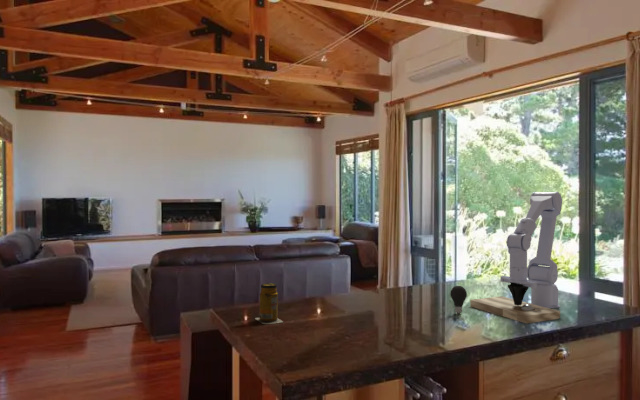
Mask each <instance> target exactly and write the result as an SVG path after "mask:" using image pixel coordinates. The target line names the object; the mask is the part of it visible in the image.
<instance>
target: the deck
mask: <svg viewBox="0 0 640 400" xmlns="http://www.w3.org/2000/svg"><path fill="white" fill-rule="evenodd" d="M530 303H531V302H530ZM530 303H529V302H526V301H522V304H521V305H515V304H514V300H513V298H509V297H506V296H493V297H485V298H476V299H475V298H474V299H470V307H472V308H475V309H478V310H481V311H485V312H488V313H490V314H494V315H497V316H501V317H504V318H508V319H511V320H514V321H518V322H521V323H524V324H527V325H528V324H533V323H539V322H545V321H553V320H560V319H561V310H557V309H554V308H545V307H542V306H538V305H534V304H530ZM525 304H529V305H531V306H532V307H533V310H534V311H525V310H521V308H522V306H523V305H525ZM559 318H560V319H559Z"/></svg>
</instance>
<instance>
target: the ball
mask: <svg viewBox="0 0 640 400" xmlns="http://www.w3.org/2000/svg"><path fill="white" fill-rule="evenodd" d="M521 310H525V311H534V310H533V307H532V306H531V305H529V304H525V305H523V306H522V308H521Z"/></svg>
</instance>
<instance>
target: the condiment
mask: <svg viewBox="0 0 640 400" xmlns="http://www.w3.org/2000/svg"><path fill="white" fill-rule="evenodd" d="M277 287H278V285H277V284H276V283H271V282H270V283H269V282H268V283H263V284H261V286H260V293H259V317H255V318H254V319H255V320H256V321H257V322H259V323H260V324H262V325H272V324H279V323H284V321H283V320H282V319H279V318H278V315H279V313H278V312H279V311H278V308H279V306H278V305H279V297H278V296H279V294H278V290H277Z"/></svg>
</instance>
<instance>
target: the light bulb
mask: <svg viewBox="0 0 640 400" xmlns="http://www.w3.org/2000/svg"><path fill="white" fill-rule="evenodd" d="M467 295H468V293H467V290H466V288H465V287H463V286H462V285H455V286H453V287H452V288H451V290H450V297H451V300H452V302H453V305H454V312H455V313H456V314H457V315H460V314H461V313H463V306H464V302H465V301H466V299H467Z"/></svg>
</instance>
